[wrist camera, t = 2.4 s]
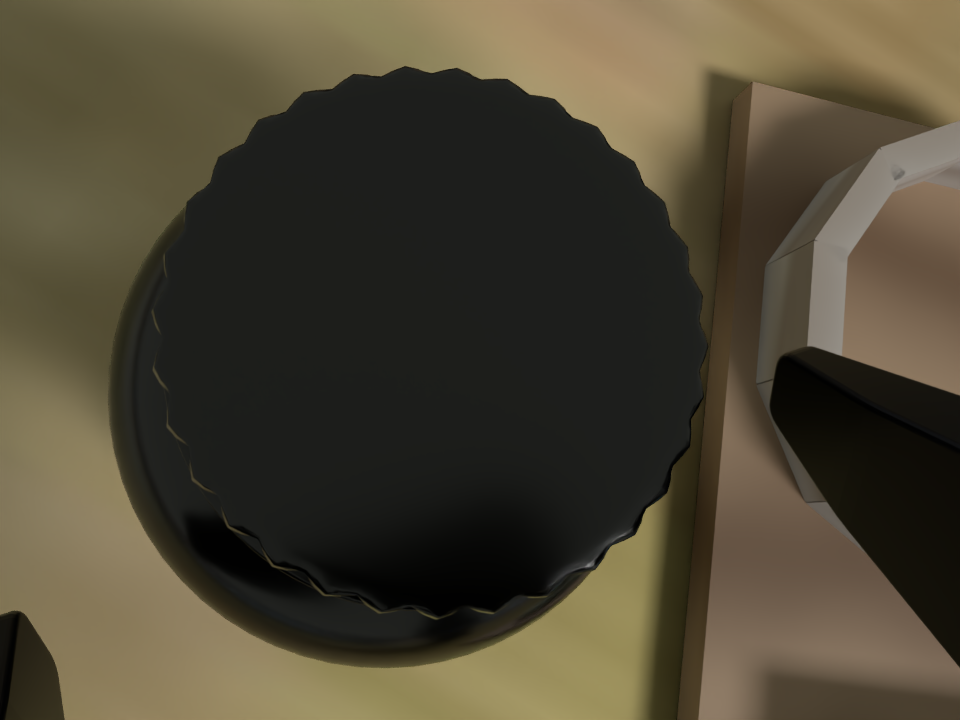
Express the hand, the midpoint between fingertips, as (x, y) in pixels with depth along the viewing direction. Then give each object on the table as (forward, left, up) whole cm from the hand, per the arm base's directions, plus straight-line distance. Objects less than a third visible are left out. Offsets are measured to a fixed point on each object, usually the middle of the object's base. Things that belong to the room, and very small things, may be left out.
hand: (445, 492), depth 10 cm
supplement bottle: (+1, +1, -9) cm, 9 cm away
